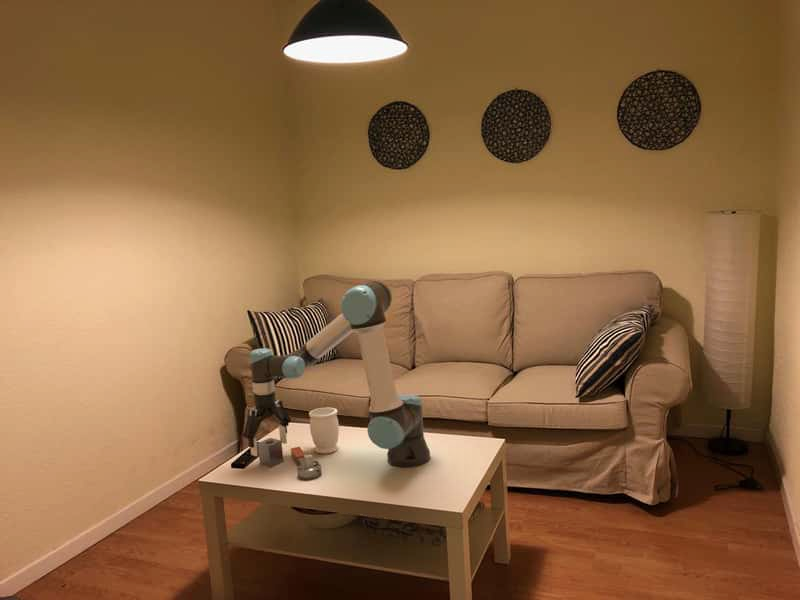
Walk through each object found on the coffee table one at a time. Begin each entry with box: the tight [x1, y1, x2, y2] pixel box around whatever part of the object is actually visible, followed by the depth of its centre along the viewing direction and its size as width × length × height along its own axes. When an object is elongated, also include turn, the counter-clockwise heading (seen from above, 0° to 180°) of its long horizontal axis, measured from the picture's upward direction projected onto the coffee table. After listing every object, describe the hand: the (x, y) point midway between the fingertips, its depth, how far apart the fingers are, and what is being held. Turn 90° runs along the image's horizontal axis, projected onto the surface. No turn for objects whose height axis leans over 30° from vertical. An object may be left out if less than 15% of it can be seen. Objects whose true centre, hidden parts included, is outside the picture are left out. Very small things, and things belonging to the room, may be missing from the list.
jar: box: [308, 407, 340, 455], centre depth 257 cm, size 11×10×15 cm
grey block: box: [257, 437, 284, 468], centre depth 248 cm, size 6×6×8 cm
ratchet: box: [290, 446, 323, 482], centre depth 243 cm, size 26×8×7 cm, turn 21°
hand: (269, 449), depth 248 cm, fingers open, 13 cm apart
